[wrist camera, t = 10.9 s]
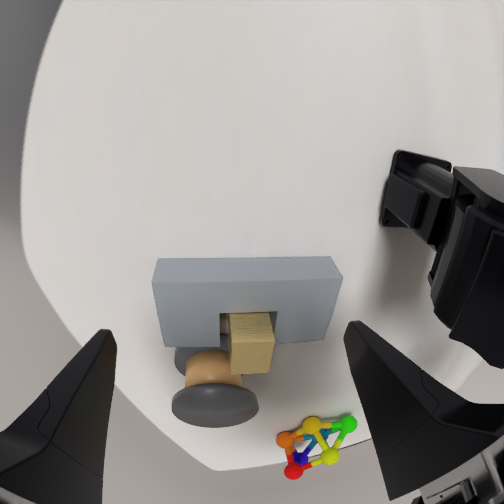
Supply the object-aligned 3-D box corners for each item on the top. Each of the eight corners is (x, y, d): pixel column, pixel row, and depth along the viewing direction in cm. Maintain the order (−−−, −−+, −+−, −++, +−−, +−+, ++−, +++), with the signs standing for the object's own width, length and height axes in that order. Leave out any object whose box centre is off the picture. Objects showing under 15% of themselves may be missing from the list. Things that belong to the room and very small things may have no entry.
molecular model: (333, 408, 48) (290, 467, 44) (302, 388, 46) (253, 454, 41) (374, 427, 38) (324, 495, 33) (344, 410, 36) (285, 487, 31)
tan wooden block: (262, 287, 24) (275, 340, 19) (258, 320, 27) (268, 372, 22) (227, 288, 24) (232, 342, 19) (226, 321, 26) (230, 374, 21)
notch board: (330, 256, 24) (343, 277, 21) (314, 317, 27) (323, 339, 25) (157, 258, 22) (151, 282, 19) (167, 322, 25) (164, 346, 23)
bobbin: (252, 331, 27) (262, 388, 22) (248, 376, 31) (255, 425, 26) (170, 332, 26) (164, 390, 21) (179, 377, 30) (178, 427, 25)
